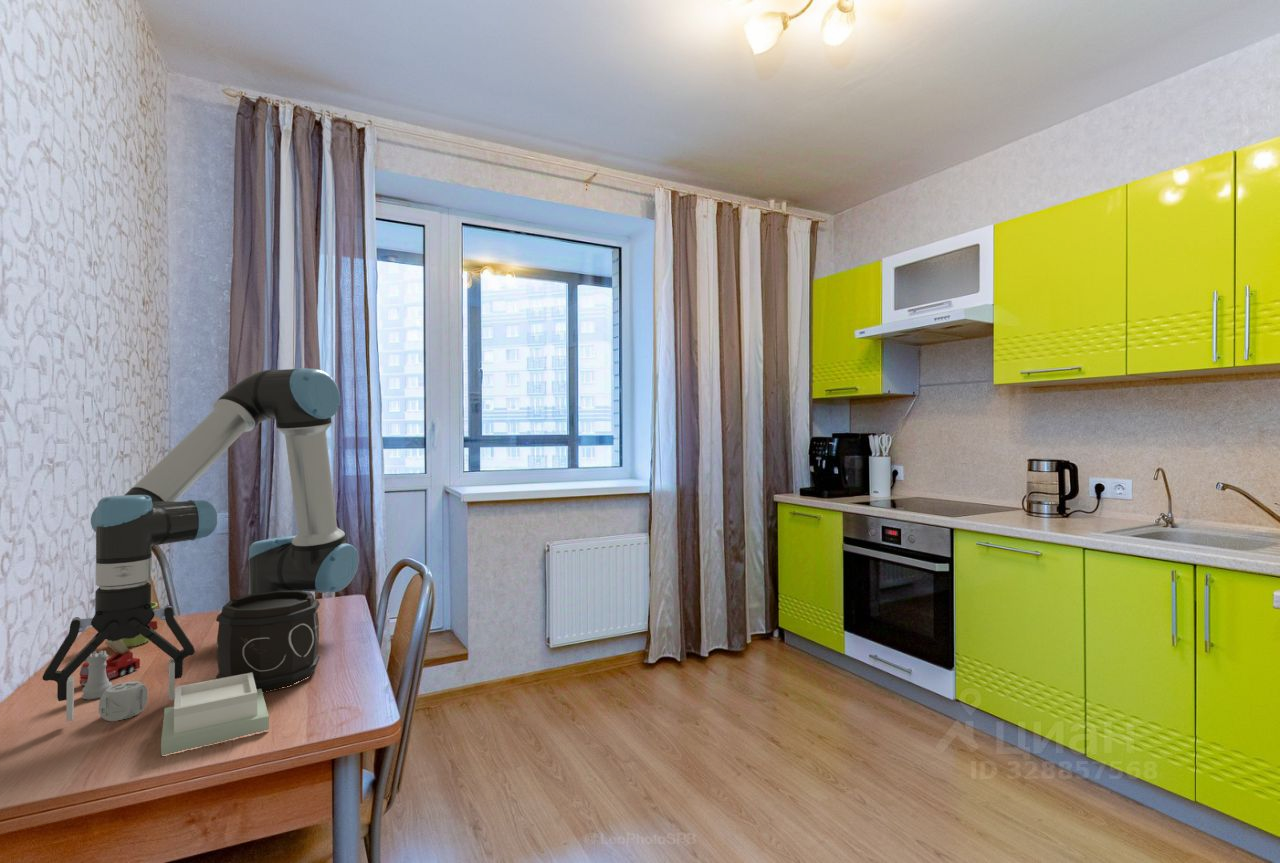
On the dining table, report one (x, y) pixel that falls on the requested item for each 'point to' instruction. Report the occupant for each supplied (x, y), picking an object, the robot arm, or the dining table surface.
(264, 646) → the black bucket
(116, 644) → the toy fire truck
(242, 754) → the dining table surface
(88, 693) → the rook chess piece
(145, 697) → the die
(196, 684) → the tower base
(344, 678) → the dining table surface
